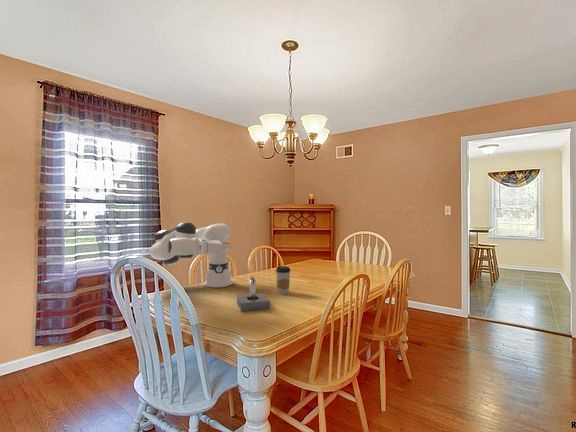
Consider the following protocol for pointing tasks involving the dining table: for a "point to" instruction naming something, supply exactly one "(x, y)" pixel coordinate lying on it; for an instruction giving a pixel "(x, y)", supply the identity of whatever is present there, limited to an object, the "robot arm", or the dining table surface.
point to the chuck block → (253, 302)
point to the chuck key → (252, 289)
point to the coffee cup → (283, 279)
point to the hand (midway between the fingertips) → (230, 245)
